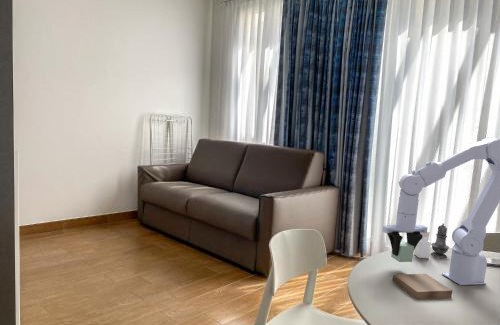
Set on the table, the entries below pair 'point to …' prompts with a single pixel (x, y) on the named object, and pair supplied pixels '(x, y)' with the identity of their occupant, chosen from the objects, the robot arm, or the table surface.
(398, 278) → the walnut base
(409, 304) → the table surface
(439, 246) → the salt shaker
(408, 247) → the sage block
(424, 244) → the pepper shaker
